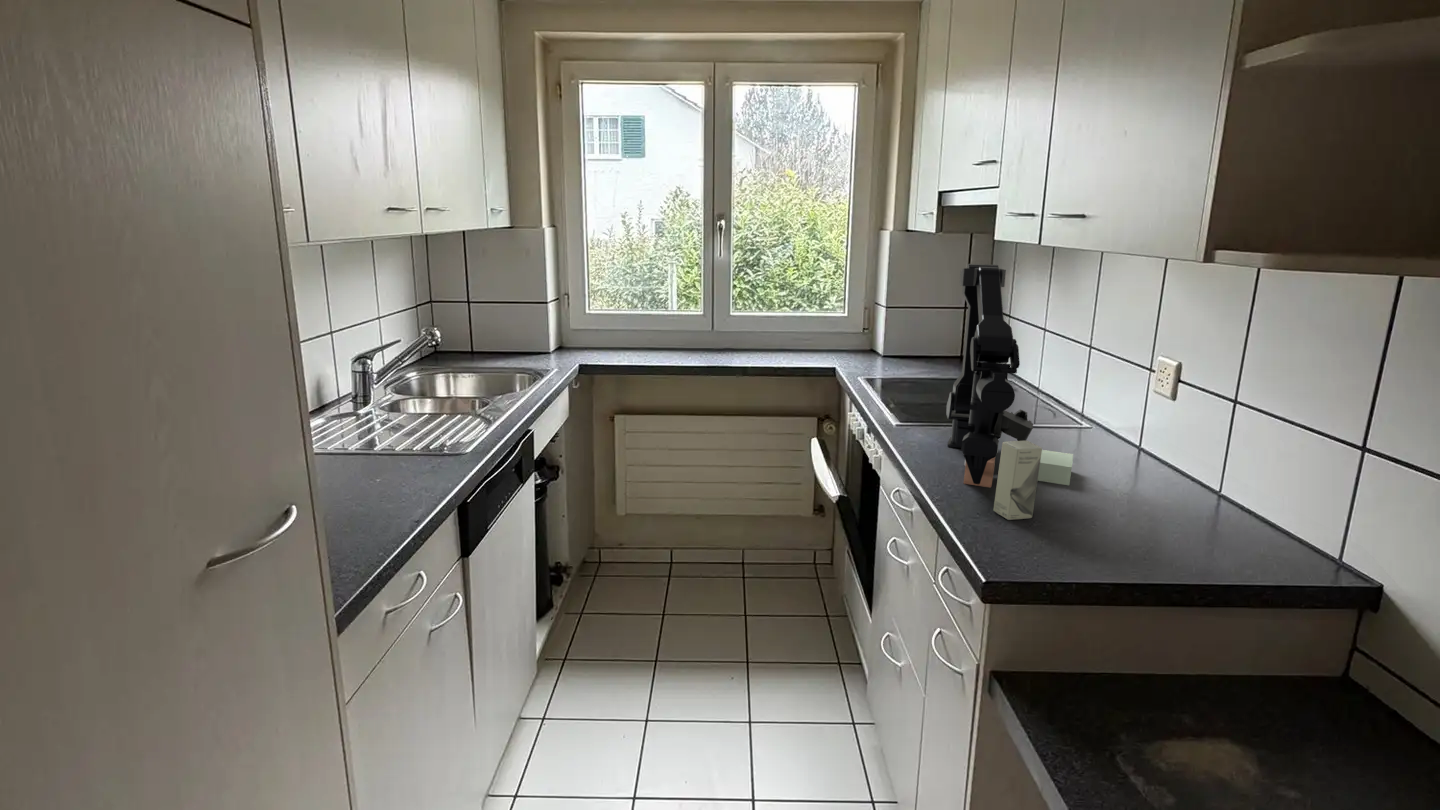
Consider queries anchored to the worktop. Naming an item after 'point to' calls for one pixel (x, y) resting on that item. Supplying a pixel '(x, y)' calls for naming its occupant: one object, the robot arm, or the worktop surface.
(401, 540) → the worktop surface
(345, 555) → the worktop surface
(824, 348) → the worktop surface
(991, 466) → the terracotta cube
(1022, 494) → the box
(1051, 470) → the sage base block
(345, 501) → the worktop surface
